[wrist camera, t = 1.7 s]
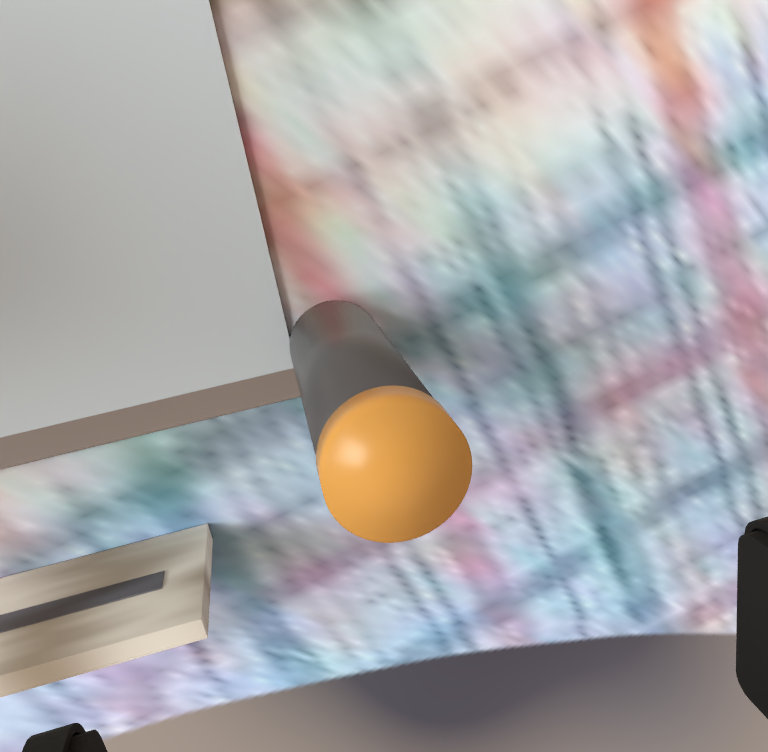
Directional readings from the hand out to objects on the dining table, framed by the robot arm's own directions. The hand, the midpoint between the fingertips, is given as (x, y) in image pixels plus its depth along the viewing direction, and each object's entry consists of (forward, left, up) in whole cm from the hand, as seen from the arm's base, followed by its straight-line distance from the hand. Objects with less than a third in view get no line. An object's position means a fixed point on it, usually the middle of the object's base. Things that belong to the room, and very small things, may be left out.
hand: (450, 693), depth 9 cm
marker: (-1, 0, -18) cm, 18 cm away
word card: (+11, +7, -18) cm, 22 cm away
